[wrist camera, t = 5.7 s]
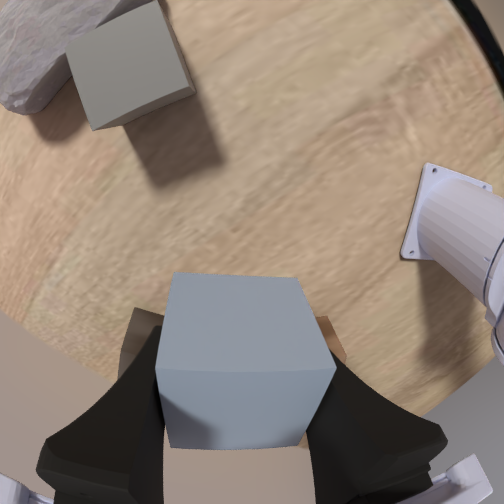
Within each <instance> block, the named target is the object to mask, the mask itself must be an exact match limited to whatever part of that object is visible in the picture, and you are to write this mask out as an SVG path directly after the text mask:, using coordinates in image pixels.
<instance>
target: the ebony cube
mask: <svg viewBox="0 0 504 504" xmlns="http://www.w3.org/2000/svg"><path fill="white" fill-rule="evenodd" d="M163 321H164V316H163V315H160V314H156V313H153V312H149V311H146V310H142V309H139V308H136V307H135V308H134V310H133V313H132V317H131V320H130V323H129V326H128V329H127V332H126V335H125V338H124V342H123V345H122V348H121V353H120V361H119V370H118V379H119V378H120V377H121V375H122V374H123V373H124V372H125V370H126V369H127V368H128V366H129V365H130V364H131V362H132V361H133V360H134V358H135V357H136V355H137V354H138V352H139V351H140V349H141V348H142V346H143V345H144V343H145V342H146V340H147V338H148V336H149V335H150V333H151V331H152V329H153V327H154V326H156V325H159V326H163Z"/></svg>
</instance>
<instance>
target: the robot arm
mask: <svg viewBox="0 0 504 504" xmlns="http://www.w3.org/2000/svg"><path fill="white" fill-rule="evenodd" d="M433 169H434V172H433ZM411 251H412V252H411ZM410 252H411V253H410ZM400 253H401V256H402V257H403V258H408V259H424V260H435V261H436V262H438V263H439V264H440V265H441V266H442V267H443V268H445V269H446V270H447V271H448V272H449V273H450V274H451V275H453V276H454V277H455V278H456V279H457V280H458V281H459V282H460V283H461V284H462V285H464V286H465V287H466V288H467V289H468V290H469V291H470V292H471V293H472V294H473V295H474V296H475V297H476V298H477V299H478V300H479V301H481V302H482V303H483V304H484V305H485V306H486V307H487V311H486V315H485V319H486V320H487V321H488V322H489V323H490V324H491V325H492V326H493V329H492V333H491V344H492V348H493V351H494V353H495V355H496V357H497V358H498V360H499V361H500V363H501V364H502V365H503V366H504V198H502V197H500V196H498V195H495V194H493V193H492V186H491V185H490V184H487V183H485V182H482V181H480V180H477V179H475V178H472V177H469V176H466V175H464V174H461V173H458V172H455V171H452V170H449V169H447V168H444V167H441V166H437V165H434V164H431V163H426V164H425V165H424V167H423V171H422V176H421V180H420V184H419V188H418V192H417V196H416V200H415V204H414V208H413V212H412V215H411V219H410V222H409V226H408V229H407V233H406V236H405V239H404V242H403V245H402V249H401V252H400ZM409 253H410V254H409ZM162 327H163V326H159V325H156V326H154V327H153V329H152V331H151V333H150V335H149V336H148V338H147V340H146V342H145V343H144V345H143V346H142V348H141V349H140V351H139V352H138V354H137V355H136V357H135V358H134V360H133V361H132V362H131V364H130V365H129V366H128V368H127V369H126V370H125V372H124V373H123V374H122V375H121V377H120V378H119V379H118V380H117V381H116V383H115V384H114V385H113V386H112V387H111V388H110V390H108V392H107V393H105V395H104V396H103V397H101V398H100V399H99V400H98V401H97V402H96V403H95V404H94V405H93V406H92V407H91V408H90V409H89V410H87V411H86V412H85V413H84V414H82V415H81V416H80V417H78V418H77V419H76V420H74V421H73V422H72V423H71V424H69V425H68V426H66V427H65V428H63V429H62V430H60V431H58V432H57V433H55V434H54V435H52V436H50V437H49V438H47V439H46V441H45V443H44V445H43V447H42V450H41V452H40V456H39V460H38V464H37V467H36V472H37V474H38V476H39V477H40V478H41V479H43V480H44V481H45V482H46V483H48V484H49V485H50V486H51V487H52V488H54V489H55V490H56V491H55V497H54V499H51V498H49V497H46V496H43V495H41V494H38V493H36V492H33V491H31V490H29V489H28V488H27V487H26V486H25V485H23V484H22V483H20V482H18V481H16V480H14V479H12V478H10V477H8V476H6V475H4V474H2V473H0V504H164V498H163V443H164V430H165V420H164V415H163V410H162V405H161V400H160V394H159V388H158V382H157V376H156V370H155V366H156V360H157V354H158V348H159V343H160V337H161V332H162ZM328 349H329V348H328ZM329 351H330V353H331V356H332V358H333V360H334V362H335V365H336V367H337V368H336V371H335V373H334V375H333V377H332V379H331V381H330V383H329V386H328V388H327V390H326V392H325V394H324V396H323V398H322V400H321V402H320V404H319V406H318V408H317V410H316V412H315V414H314V416H313V418H312V420H311V422H310V423H309V425H308V427H307V429H306V434H307V438H308V444H309V450H310V456H311V462H312V469H313V477H314V486H315V497H316V504H477V503H479V502H480V501H482V500H483V499H484V498H486V497H487V496H488V495H490V494H491V493H492V492H493V489H492V487H491V485H490V483H489V481H488V479H487V477H486V475H485V473H484V471H483V469H482V467H481V465H480V463H479V462H478V460H477V458H476V456H475V454H471V455H469V456H467V457H466V458H464V459H462V460H460V461H458V462H457V463H455V464H454V465H452V466H451V467H450V468H448V469H447V470H446V472H444V473H442V474H440V475H438V476H436V477H434V478H432V479H431V478H430V476H429V474H428V471H429V470H431V467H430V465H429V462H430V461H431V460H432V459H433V458H434V457H436V456H437V455H438V454H439V453H440V452H441V451H442V450H443V449H444V448H445V447H446V445H447V443H448V440H447V438H446V436H445V434H444V432H443V431H442V429H441V427H440V426H439V425H438V424H436V423H433V422H431V421H428V420H425V419H423V418H421V417H418V416H416V415H414V414H412V413H410V412H408V411H406V410H404V409H402V408H401V407H399V406H397V405H395V404H394V403H392V402H391V401H389V400H387V399H386V398H384V397H383V396H381V395H380V394H378V393H377V392H376V391H374V390H373V389H372V388H370V387H369V386H368V385H367V384H365V383H364V382H363V381H362V380H361V379H359V378H358V377H357V376H356V375H355V374H354V373H353V372H352V371H351V370H350V369H349V368H347V367H346V366H345V365H344V364H343V363H342V362H341V361H340V360H339V358H338V357H337V356H336V355H335V354H334V353H333V352H332V351H331V350H330V349H329Z"/></svg>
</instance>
